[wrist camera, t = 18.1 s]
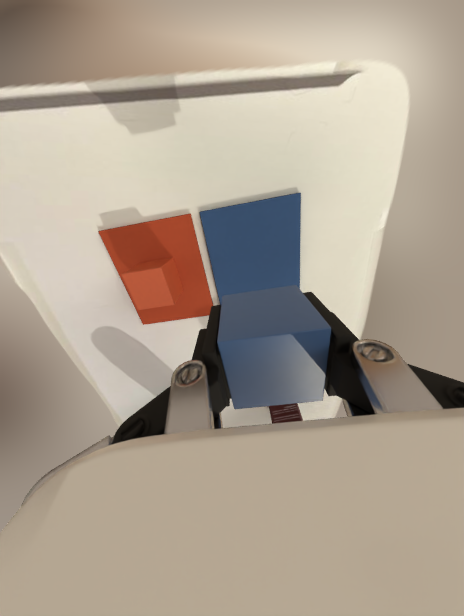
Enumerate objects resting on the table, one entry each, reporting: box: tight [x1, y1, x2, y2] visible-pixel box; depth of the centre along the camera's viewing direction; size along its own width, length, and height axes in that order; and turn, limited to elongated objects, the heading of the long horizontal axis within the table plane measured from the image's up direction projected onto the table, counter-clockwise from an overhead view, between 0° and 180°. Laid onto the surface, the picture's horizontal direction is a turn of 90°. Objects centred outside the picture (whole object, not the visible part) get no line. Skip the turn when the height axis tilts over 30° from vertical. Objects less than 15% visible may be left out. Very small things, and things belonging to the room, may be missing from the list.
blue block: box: [217, 285, 331, 409], centre depth 9 cm, size 4×4×4 cm
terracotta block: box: [121, 257, 183, 310], centre depth 20 cm, size 4×4×4 cm
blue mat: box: [200, 193, 301, 305], centre depth 21 cm, size 12×10×1 cm
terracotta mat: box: [98, 214, 213, 325], centre depth 22 cm, size 12×10×1 cm
